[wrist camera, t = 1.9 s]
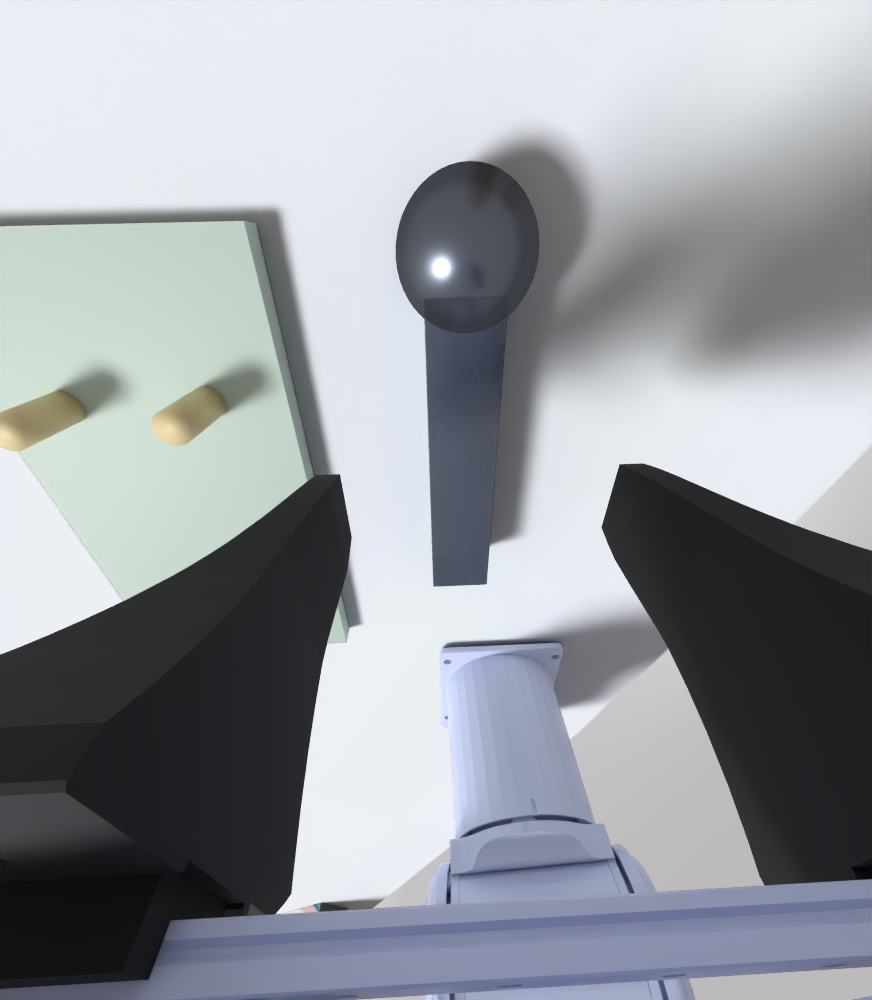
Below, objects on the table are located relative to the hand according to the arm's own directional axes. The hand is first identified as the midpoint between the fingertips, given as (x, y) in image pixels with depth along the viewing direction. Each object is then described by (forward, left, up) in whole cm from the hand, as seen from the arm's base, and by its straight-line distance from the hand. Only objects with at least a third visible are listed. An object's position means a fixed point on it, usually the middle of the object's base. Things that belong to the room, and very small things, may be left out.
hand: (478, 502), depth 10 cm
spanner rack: (-4, +12, -7) cm, 14 cm away
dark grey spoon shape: (0, 0, -7) cm, 7 cm away
